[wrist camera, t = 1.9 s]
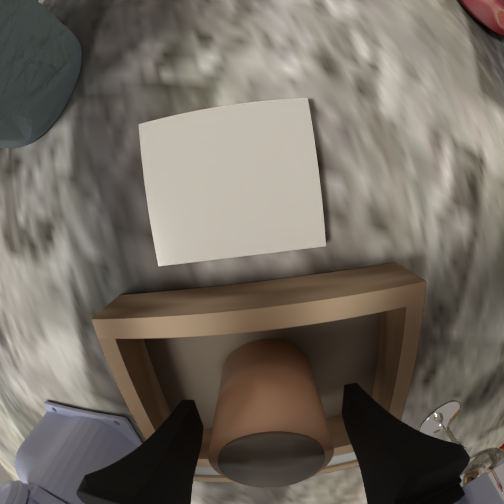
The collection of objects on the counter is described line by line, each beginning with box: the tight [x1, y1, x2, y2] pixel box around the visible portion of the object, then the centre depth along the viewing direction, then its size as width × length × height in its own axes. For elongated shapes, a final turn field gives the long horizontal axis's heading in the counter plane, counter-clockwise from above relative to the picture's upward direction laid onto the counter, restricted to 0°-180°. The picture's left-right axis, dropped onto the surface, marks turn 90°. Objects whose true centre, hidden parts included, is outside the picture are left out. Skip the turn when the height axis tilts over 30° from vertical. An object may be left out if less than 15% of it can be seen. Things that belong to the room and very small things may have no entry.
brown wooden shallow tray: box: [91, 263, 426, 467], centre depth 13 cm, size 15×11×3 cm
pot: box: [208, 339, 334, 487], centre depth 11 cm, size 5×5×6 cm
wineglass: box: [419, 401, 504, 502], centre depth 11 cm, size 6×6×12 cm
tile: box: [139, 98, 326, 266], centre depth 12 cm, size 8×7×1 cm
